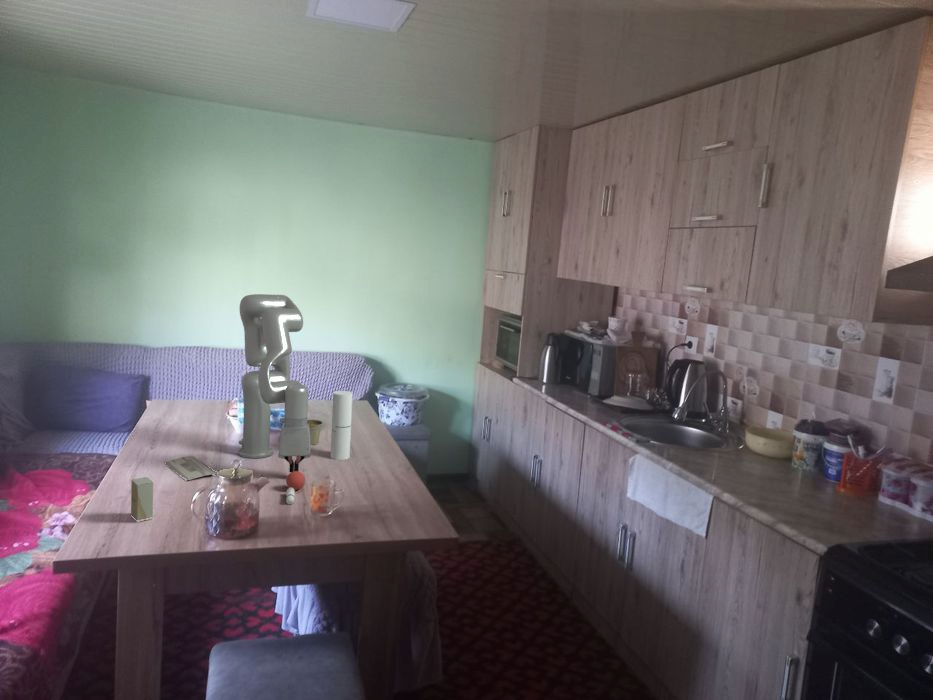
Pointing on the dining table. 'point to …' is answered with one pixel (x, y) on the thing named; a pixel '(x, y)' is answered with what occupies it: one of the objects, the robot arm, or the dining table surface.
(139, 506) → the box
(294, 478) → the ball
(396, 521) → the dining table surface
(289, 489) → the white pin
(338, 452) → the cylindrical container
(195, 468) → the newspaper
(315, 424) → the flower pot
